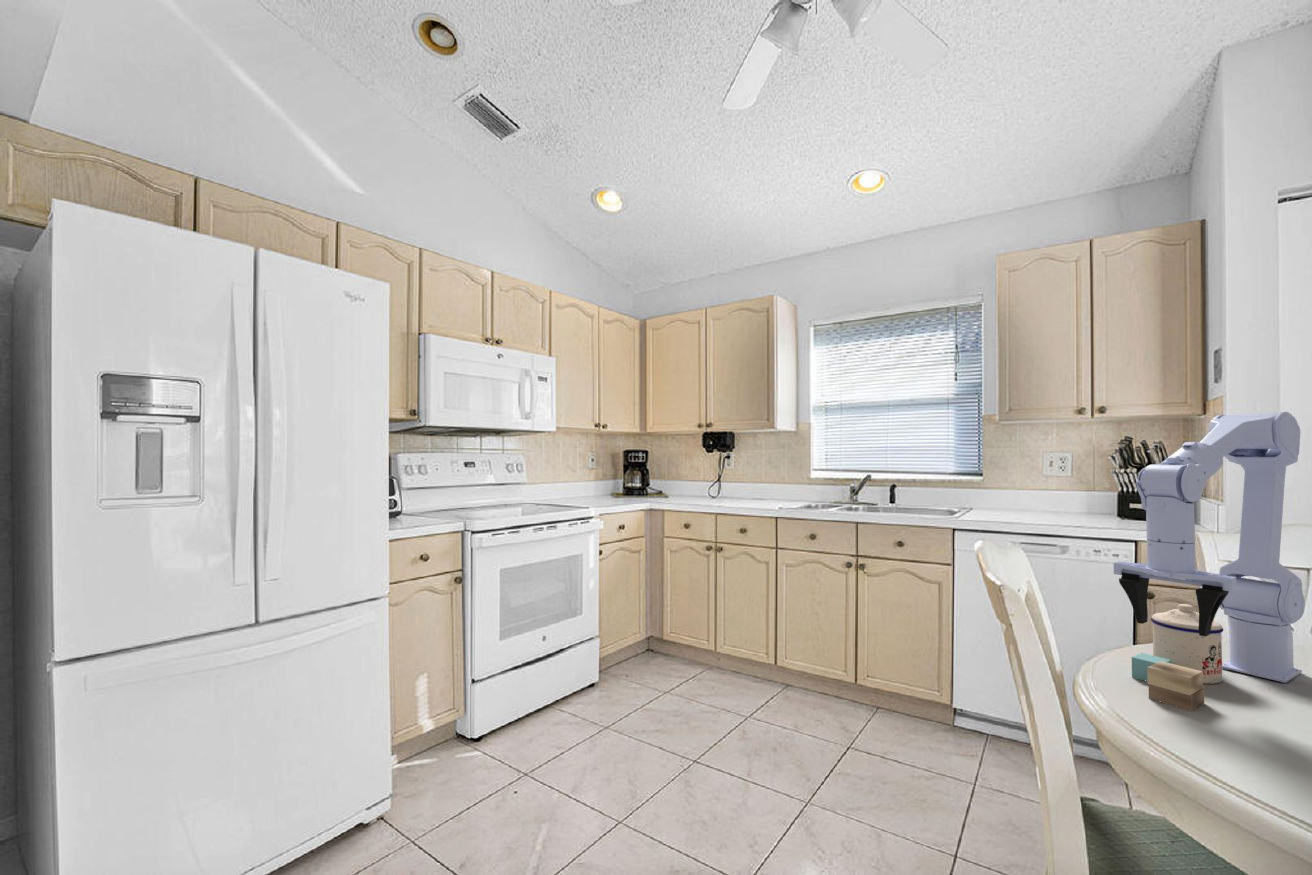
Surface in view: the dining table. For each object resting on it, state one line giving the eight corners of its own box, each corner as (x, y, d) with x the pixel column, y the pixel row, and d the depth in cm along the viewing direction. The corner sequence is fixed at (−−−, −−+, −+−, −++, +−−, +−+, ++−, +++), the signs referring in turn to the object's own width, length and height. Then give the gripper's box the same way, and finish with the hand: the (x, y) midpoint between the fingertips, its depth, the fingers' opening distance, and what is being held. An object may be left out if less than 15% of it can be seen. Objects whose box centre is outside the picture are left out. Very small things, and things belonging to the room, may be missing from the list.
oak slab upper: (1160, 677, 92) (1160, 661, 92) (1202, 688, 88) (1202, 671, 88) (1147, 683, 90) (1147, 666, 90) (1190, 695, 85) (1189, 677, 85)
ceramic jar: (1218, 689, 93) (1217, 615, 93) (1145, 672, 100) (1144, 603, 100) (1232, 672, 100) (1231, 603, 100) (1163, 657, 107) (1162, 593, 108)
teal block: (1142, 673, 100) (1141, 652, 100) (1172, 681, 96) (1171, 659, 97) (1131, 678, 98) (1131, 656, 98) (1162, 686, 94) (1161, 664, 94)
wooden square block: (1162, 693, 92) (1162, 677, 92) (1204, 705, 88) (1204, 688, 88) (1148, 700, 89) (1148, 683, 89) (1191, 713, 85) (1191, 695, 85)
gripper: (1104, 537, 96) (1106, 620, 96) (1224, 549, 84) (1226, 645, 84) (1123, 534, 100) (1124, 614, 100) (1240, 545, 88) (1242, 637, 87)
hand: (1172, 628), depth 92 cm, fingers open, 7 cm apart
